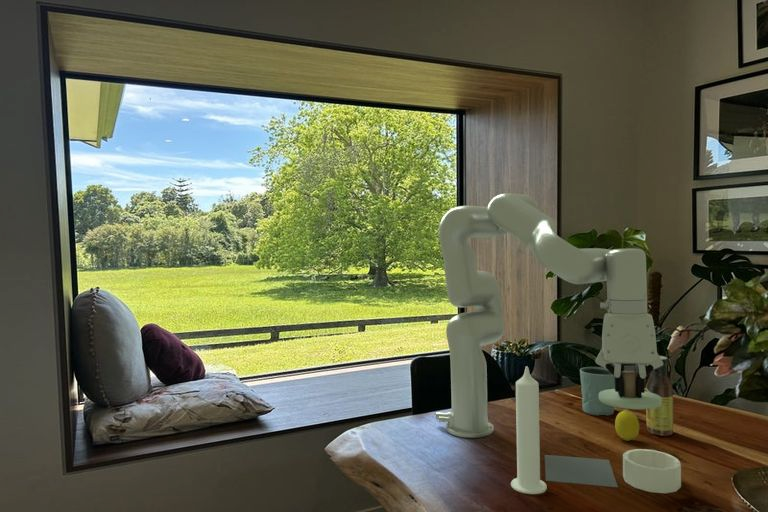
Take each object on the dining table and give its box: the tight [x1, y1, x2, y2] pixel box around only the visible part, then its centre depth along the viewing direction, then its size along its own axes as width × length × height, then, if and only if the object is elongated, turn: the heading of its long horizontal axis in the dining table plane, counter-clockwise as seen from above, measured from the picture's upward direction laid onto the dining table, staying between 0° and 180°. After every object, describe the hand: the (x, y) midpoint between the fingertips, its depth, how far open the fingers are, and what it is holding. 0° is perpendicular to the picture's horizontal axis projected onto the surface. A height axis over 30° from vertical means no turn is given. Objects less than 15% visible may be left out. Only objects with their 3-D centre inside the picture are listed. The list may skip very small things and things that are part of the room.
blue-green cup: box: [579, 366, 615, 416], centre depth 158 cm, size 10×10×12 cm
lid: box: [599, 371, 662, 410], centre depth 113 cm, size 12×12×6 cm
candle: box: [510, 365, 548, 495], centre depth 110 cm, size 7×7×25 cm
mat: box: [544, 454, 619, 488], centre depth 118 cm, size 14×14×1 cm
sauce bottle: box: [645, 355, 674, 437], centre depth 139 cm, size 6×6×20 cm
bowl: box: [622, 448, 682, 494], centre depth 111 cm, size 10×10×5 cm
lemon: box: [614, 409, 640, 442], centre depth 134 cm, size 6×6×8 cm
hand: (629, 394), depth 113 cm, fingers closed on lid, 2 cm apart
